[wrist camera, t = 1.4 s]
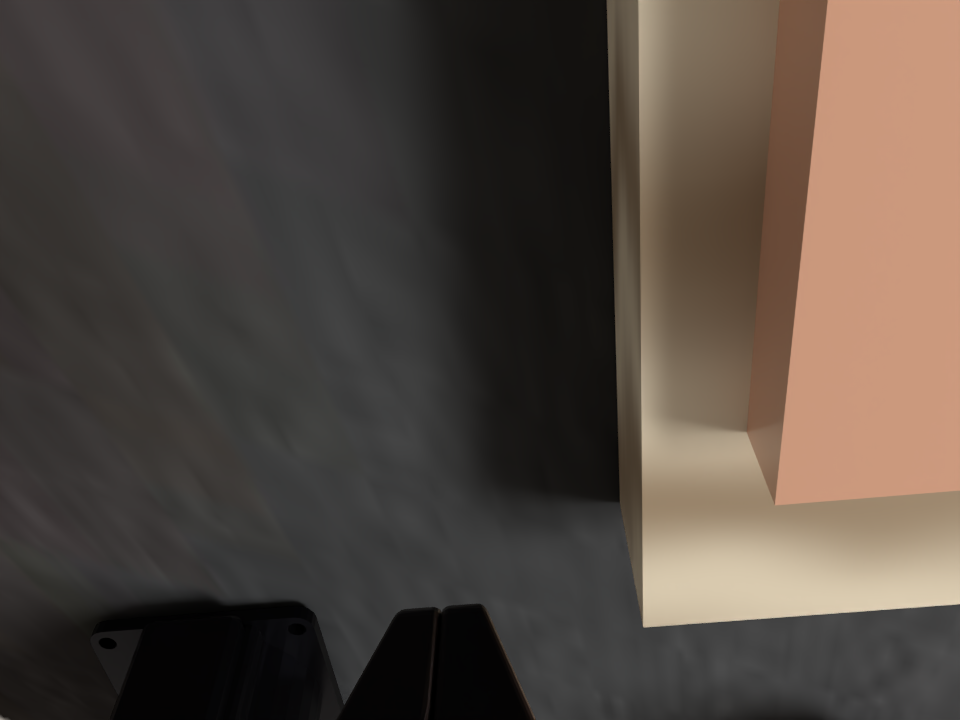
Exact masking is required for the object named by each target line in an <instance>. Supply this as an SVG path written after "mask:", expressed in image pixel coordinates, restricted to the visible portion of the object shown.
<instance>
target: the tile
mask: <svg viewBox="0 0 960 720" xmlns="http://www.w3.org/2000/svg"><path fill="white" fill-rule="evenodd" d="M747 435H748V437H749V440H750V442H751V445H752V448H753V450H754V453H755V455H756V458H757V460H758V463H759V466H760V468H761V471H762V473H763V476H764V479H765V481H766V484H767V486H768V489H769V492H770V494H771V497H772V499H773V502H774V505H787V504H799V503H812V502H824V501H836V500H849V499H861V498H874V497H886V496H899V495H911V494H924V493H936V492H948V491H960V0H780V2H779V16H778V29H777V42H776V55H775V68H774V81H773V94H772V107H771V120H770V133H769V146H768V160H767V173H766V186H765V199H764V212H763V225H762V238H761V251H760V264H759V277H758V290H757V304H756V317H755V330H754V343H753V356H752V369H751V382H750V395H749V408H748V421H747Z"/></svg>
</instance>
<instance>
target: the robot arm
mask: <svg viewBox="0 0 960 720" xmlns="http://www.w3.org/2000/svg"><path fill="white" fill-rule="evenodd" d="M90 644H91V646H92V648H93V650H94V652H95V654H96V655H97V657H98V659H99V661H100V663H101V665H102V667H103V668H104V670H105V672H106V674H107V676H108V678H109V680H110V681H111V683H112V685H113V687H114V689H115V691H116V693H117V694H118V698H117V701H116V704H115V707H114V709H113V712H112V715H111V718H110V720H536V719H535V717H534V714H533V712H532V710H531V708H530V705H529V703H528V701H527V699H526V696H525V694H524V692H523V690H522V687H521V685H520V683H519V681H518V678H517V676H516V674H515V672H514V670H513V667H512V665H511V663H510V661H509V658H508V656H507V654H506V652H505V649H504V647H503V645H502V643H501V640H500V638H499V636H498V634H497V631H496V629H495V627H494V625H493V622H492V620H491V618H490V616H489V613H488V611H487V609H486V608H485V607H484V606H483V605H481V604H466V605H453V606H447V607H446V608H444V609H443V611H442V612H441V611H440V609H438V608H435V607H426V608H413V609H404V610H401V611H400V612H398V613H397V614H396V615H395V617H394V618H393V620H392V622H391V623H390V625H389V627H388V629H387V630H386V632H385V634H384V636H383V638H382V639H381V641H380V643H379V645H378V646H377V648H376V650H375V652H374V654H373V655H372V657H371V659H370V661H369V662H368V664H367V666H366V668H365V670H364V671H363V673H362V675H361V677H360V678H359V680H358V682H357V684H356V686H355V687H354V689H353V691H352V693H351V694H350V696H349V698H348V700H347V702H346V703H345V705H344V704H343V700H342V697H341V694H340V691H339V688H338V684H337V681H336V678H335V675H334V672H333V669H332V665H331V662H330V659H329V656H328V653H327V649H326V646H325V643H324V640H323V637H322V633H321V630H320V627H319V624H318V621H317V618H316V615H315V614H314V612H312V611H311V610H310V609H308V608H304V607H298V606H293V607H280V608H267V609H254V610H241V611H228V612H215V613H202V614H189V615H176V616H163V617H150V618H136V619H123V620H110V621H103V622H100V623H98V624H97V625H96V627H95V629H94V631H93V634H92V636H91V638H90Z"/></svg>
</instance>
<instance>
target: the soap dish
mask: <svg viewBox="0 0 960 720" xmlns="http://www.w3.org/2000/svg"><path fill="white" fill-rule="evenodd" d="M779 2H780V0H607V29H608V67H609V105H610V143H611V181H612V219H613V257H614V295H615V333H616V371H617V409H618V447H619V485H620V507H621V512H622V517H623V523H624V528H625V533H626V539H627V544H628V549H629V555H630V560H631V565H632V571H633V576H634V581H635V587H636V592H637V597H638V603H639V608H640V613H641V619H642V624H643V627H655V626H669V625H683V624H696V623H710V622H723V621H737V620H750V619H764V618H778V617H791V616H805V615H818V614H832V613H845V612H859V611H873V610H886V609H900V608H913V607H927V606H940V605H954V604H960V491H948V492H936V493H924V494H911V495H899V496H886V497H874V498H861V499H849V500H836V501H824V502H812V503H799V504H787V505H774V502H773V499H772V497H771V494H770V492H769V489H768V486H767V484H766V481H765V479H764V476H763V473H762V471H761V468H760V466H759V463H758V460H757V458H756V455H755V453H754V450H753V448H752V445H751V442H750V440H749V437H748V435H747V421H748V408H749V395H750V382H751V369H752V356H753V343H754V330H755V317H756V304H757V290H758V277H759V264H760V251H761V238H762V225H763V212H764V199H765V186H766V173H767V160H768V146H769V133H770V120H771V107H772V94H773V81H774V68H775V55H776V42H777V29H778V16H779Z"/></svg>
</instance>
